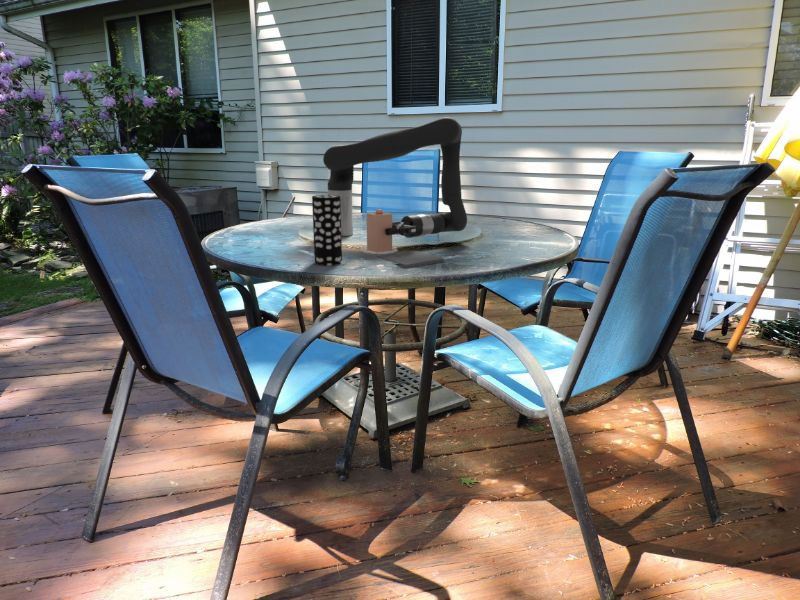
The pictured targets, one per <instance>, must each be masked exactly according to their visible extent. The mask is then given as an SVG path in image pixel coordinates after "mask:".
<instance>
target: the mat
mask: <svg viewBox="0 0 800 600" xmlns="http://www.w3.org/2000/svg"><path fill="white" fill-rule="evenodd" d="M376 257H377V258H380V259H383V260H386V261H390V262H393V263H394V265H395V266H398V267H401V268H404V269H408V268H413V267H420V266H426V265H432V264H439V263H445V258H443V257H440V256H436V255H432V254H429V253H426V252H423V251H418V250H410V251H402V252H394V253H387V254H379V255H377V256H376Z"/></svg>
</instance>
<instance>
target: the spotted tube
mask: <svg viewBox="0 0 800 600" xmlns="http://www.w3.org/2000/svg"><path fill="white" fill-rule="evenodd" d="M311 202H312V204H311V205H312V207H311V208H312V225H313V226H312V228H313V229H312V230H313V251H314V252H313V253H314V256H313V257H314V264H315V265H318V266H325V267H327V266H337V265H340V264H342V261H343V249H342V248H343V247H342V243H343V242H342V236H341V202H340V196H338V195H328V194H316V195H312V196H311Z"/></svg>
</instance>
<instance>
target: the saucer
mask: <svg viewBox="0 0 800 600" xmlns="http://www.w3.org/2000/svg"><path fill="white" fill-rule="evenodd" d="M398 251H399V249H398V248H396V247H392V251H385V252H378V253H377V252H374V251H370V250H367V247H364V248H362V249H361V252H362V253H364V254H365V253H366V254H373V255H377V254H378V255H387V254H394V253H397V252H398Z"/></svg>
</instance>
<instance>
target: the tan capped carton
mask: <svg viewBox="0 0 800 600" xmlns="http://www.w3.org/2000/svg"><path fill="white" fill-rule="evenodd" d="M392 221H393V214H392V213H389V212H384V209H375V212H367V213H366V248H367V250H370V251H374V252H377V253H378V252H385V251H392V248H393V235H386V234H385V229H386V228H392Z"/></svg>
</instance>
